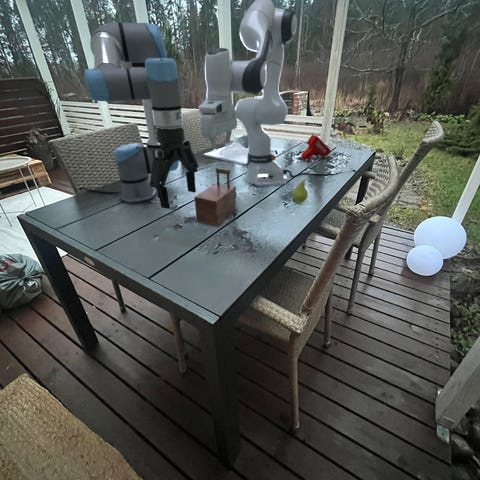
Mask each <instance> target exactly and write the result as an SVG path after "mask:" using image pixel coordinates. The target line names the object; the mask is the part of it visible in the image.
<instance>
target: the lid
mask: <svg viewBox="0 0 480 480" xmlns="http://www.w3.org/2000/svg"><path fill="white" fill-rule="evenodd" d="M215 173H216V181H217V182H216V183H214V184H212V185H210V186H209V187H207V188H205V189H204V190H202V191H201V192H200V193H198V194H196V195H195V196H194V200H195V199H196V200H201V201H206V202H210V203H215V204H217V203H218V202H219V201H221V200H222V199H223V198H225V197H226V196H227V195H229V194H230V193H231V192H233V191H234V190H235V191H236V190H237V186H234V185H230V174H231V170H230V169H226V168H221V167H216V168H215ZM220 174H222V175H223V174H224V175H226V184H223V183H220Z"/></svg>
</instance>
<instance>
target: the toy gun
mask: <svg viewBox="0 0 480 480" xmlns="http://www.w3.org/2000/svg"><path fill="white" fill-rule="evenodd" d="M306 144H307V145H308V147H307V148H306V149H305V150H303V152H302V153H301V154H300V155H301V160H304V159H305V160H304V161H307V162H309V161H310V159H311V158H312V157H313V156H316V157H318V156H319V155H321V156H319V157H320V158H324V159H327V158H326V157H322V156H326V155H328V156H329V155H330V153H331V152H332V150H331V149H330V148H329V147H328V146H327V145H326V144H325V143H324V142H323V141H322V140H321V138H319V136H317V135H314V134H311V136H310V137H309V138H308V139H307V142H306ZM306 159H309V160H306Z"/></svg>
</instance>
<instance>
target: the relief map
mask: <svg viewBox="0 0 480 480" xmlns="http://www.w3.org/2000/svg"><path fill="white" fill-rule="evenodd" d="M248 152H249V146H248V147H247V148H246V147H245V146H243V145H242V144H241V143H240V142H235V141H233V142H232V143H231V144H228V145H226V146H223V147H220V148H216V149H213V150H211V151H209V152H205V153H203V157H207V158H211V159H216V160H221V161H225V162H230V163H235V164H240V165H243V166H246V165H248V163H247V155H248Z"/></svg>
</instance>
